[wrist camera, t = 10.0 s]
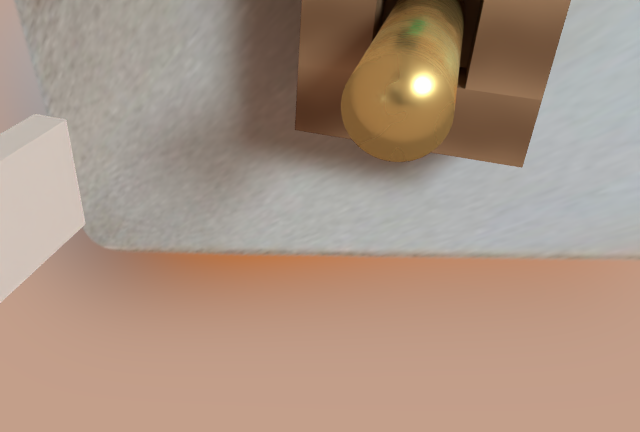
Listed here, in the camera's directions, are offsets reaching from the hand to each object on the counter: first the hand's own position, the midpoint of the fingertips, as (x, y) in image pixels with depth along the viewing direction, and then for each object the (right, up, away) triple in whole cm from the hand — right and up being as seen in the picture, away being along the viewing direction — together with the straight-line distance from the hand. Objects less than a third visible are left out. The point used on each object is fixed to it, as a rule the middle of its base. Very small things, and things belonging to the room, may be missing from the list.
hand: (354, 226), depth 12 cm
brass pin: (+5, +11, +18) cm, 21 cm away
